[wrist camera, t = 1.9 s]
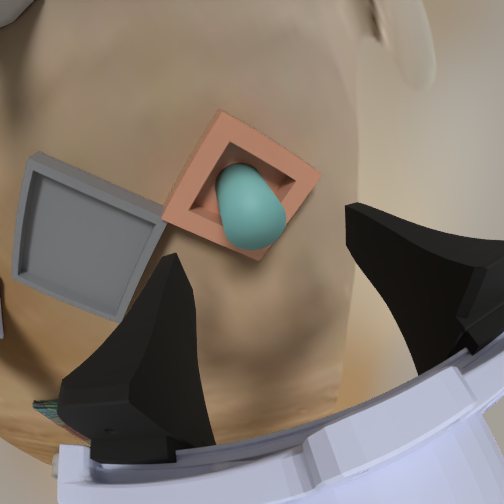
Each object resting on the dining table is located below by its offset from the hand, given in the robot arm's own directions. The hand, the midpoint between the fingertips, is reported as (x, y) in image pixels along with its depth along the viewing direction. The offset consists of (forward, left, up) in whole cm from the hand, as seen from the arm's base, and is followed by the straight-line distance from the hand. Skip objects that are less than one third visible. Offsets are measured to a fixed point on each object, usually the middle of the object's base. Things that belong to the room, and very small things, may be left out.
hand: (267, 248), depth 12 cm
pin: (0, 0, -7) cm, 7 cm away
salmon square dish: (0, 0, -8) cm, 8 cm away
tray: (-9, +8, -8) cm, 14 cm away
